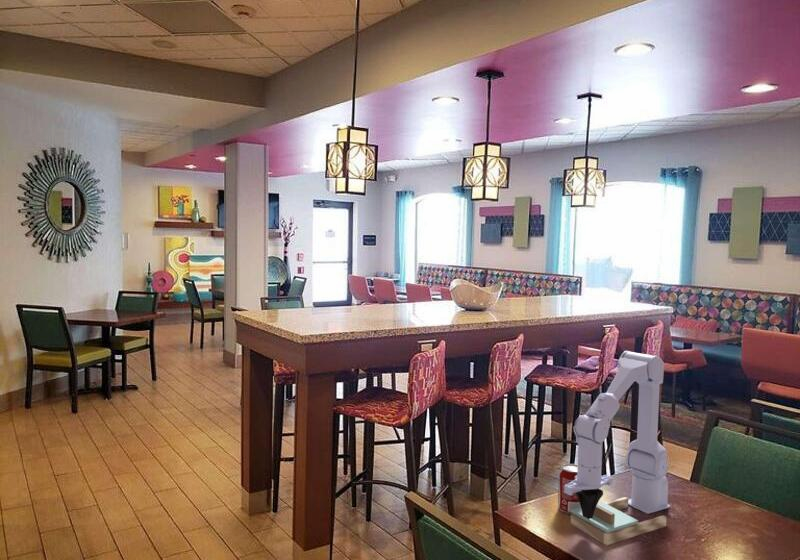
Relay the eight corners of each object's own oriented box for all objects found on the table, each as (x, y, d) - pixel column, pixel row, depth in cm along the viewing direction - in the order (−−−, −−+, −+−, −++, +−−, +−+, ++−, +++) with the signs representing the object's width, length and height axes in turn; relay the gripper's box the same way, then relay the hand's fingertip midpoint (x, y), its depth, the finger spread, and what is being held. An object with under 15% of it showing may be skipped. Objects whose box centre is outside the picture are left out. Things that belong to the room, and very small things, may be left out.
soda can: (585, 517, 153) (586, 473, 152) (558, 514, 154) (560, 471, 154) (582, 506, 160) (583, 464, 159) (557, 503, 161) (558, 461, 160)
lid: (600, 504, 155) (601, 492, 155) (638, 523, 145) (638, 510, 145) (571, 512, 150) (571, 499, 150) (607, 532, 140) (607, 519, 139)
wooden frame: (624, 505, 161) (625, 496, 161) (666, 526, 149) (666, 516, 149) (567, 521, 151) (567, 512, 150) (606, 545, 139) (607, 535, 139)
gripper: (598, 454, 151) (596, 504, 152) (556, 463, 144) (554, 516, 145) (619, 463, 144) (617, 516, 145) (577, 473, 138) (575, 528, 139)
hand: (587, 516), depth 145 cm, fingers closed
